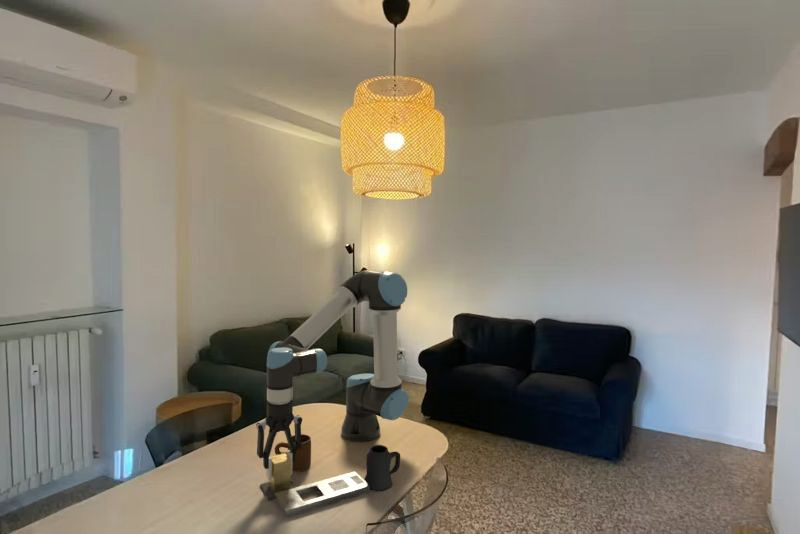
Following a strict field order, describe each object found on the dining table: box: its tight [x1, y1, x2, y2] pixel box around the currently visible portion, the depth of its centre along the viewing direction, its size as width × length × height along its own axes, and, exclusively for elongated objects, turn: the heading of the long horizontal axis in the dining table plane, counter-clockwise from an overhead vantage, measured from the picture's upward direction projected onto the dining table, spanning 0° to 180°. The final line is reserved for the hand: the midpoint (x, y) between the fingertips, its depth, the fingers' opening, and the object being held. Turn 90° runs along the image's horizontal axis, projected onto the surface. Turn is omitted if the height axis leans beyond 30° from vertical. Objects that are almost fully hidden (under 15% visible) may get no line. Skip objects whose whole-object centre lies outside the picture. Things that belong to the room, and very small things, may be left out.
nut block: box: [268, 453, 292, 493], centre depth 141 cm, size 5×5×9 cm
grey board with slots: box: [274, 471, 371, 519], centre depth 138 cm, size 26×10×2 cm, turn 122°
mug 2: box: [363, 444, 401, 493], centre depth 146 cm, size 12×9×11 cm
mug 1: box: [274, 433, 312, 472], centre depth 154 cm, size 12×8×9 cm, turn 116°
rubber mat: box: [259, 479, 297, 501], centre depth 141 cm, size 9×9×1 cm
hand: (279, 475), depth 141 cm, fingers open, 6 cm apart
